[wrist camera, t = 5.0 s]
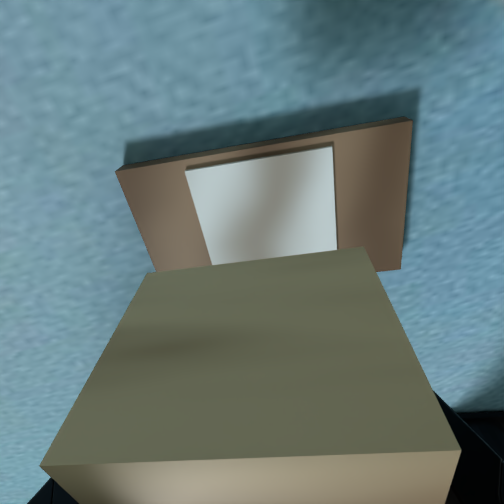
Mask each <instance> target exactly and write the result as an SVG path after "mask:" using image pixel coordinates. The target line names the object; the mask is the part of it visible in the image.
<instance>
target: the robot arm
mask: <svg viewBox="0 0 504 504" xmlns="http://www.w3.org/2000/svg"><path fill="white" fill-rule="evenodd" d="M433 392H434V391H433ZM434 394H435V396H436V398H437V400H438V402H439V404H440V407H441V409H442V411H443V413H444V415H445V417H446V419H447V421H448V423H449V425H450V427H451V429H452V432H453V434H454V436H455V438H456V440H457V442H458V444H459V446H460V448H461V453H460V457H459V460H458V463H457V466H456V469H455V473H454V476H453V479H452V482H451V485H450V489H449V492H448V495H447V498H446V501H445V504H504V412H488V413H469V414H456V413H455V412H454V411H453V410H452V409H451V408H450V407H449V406H448V405H447V404H446V403H445V402H444V401H443V400H442V399H441V398H440V397H439V396H438V395H437V394H436V393H435V392H434ZM27 504H79V503H78V502H77V501H76V500H75V499H74V498H73V497H72V496H71V495H70V494H69V493H67V492H66V491H65V490H64V489H63V488H62V487H61V486H60V485H59V484H58V483H57V482H56V481H55V480H54V479H53V478H50V479H49V480H48V481H47V482H46V483H45V485H44V486H43V487H42V488H41V489H40V490H39V491H38V492H37V493H36V494H35V496H34V497H33V498H32V499H31V500H30V501H29V502H28V503H27Z"/></svg>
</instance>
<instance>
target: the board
mask: <svg viewBox="0 0 504 504" xmlns="http://www.w3.org/2000/svg"><path fill="white" fill-rule="evenodd" d="M412 124H413V120H411V119H409V118H407V117H399V118H393V119H388V120H382V121H376V122H370V123H365V124H359V125H353V126H347V127H342V128H336V129H330V130H324V131H318V132H313V133H307V134H301V135H295V136H290V137H284V138H278V139H272V140H267V141H261V142H255V143H249V144H244V145H238V146H232V147H226V148H221V149H215V150H209V151H203V152H197V153H192V154H186V155H180V156H174V157H169V158H163V159H157V160H151V161H146V162H140V163H134V164H128V165H123V166H121V167H120V168H119V169H118V170H116V171H115V173H116V175H117V178H118V180H119V183H120V185H121V188H122V190H123V192H124V195H125V197H126V200H127V202H128V204H129V207H130V209H131V212H132V214H133V217H134V219H135V221H136V224H137V226H138V229H139V231H140V233H141V236H142V238H143V241H144V243H145V245H146V248H147V250H148V253H149V255H150V258H151V260H152V262H153V265H154V267H155V270H156V272H161V271H170V270H178V269H186V268H194V267H202V266H210V265H218V264H226V263H234V262H242V261H251V260H259V259H267V258H275V257H283V256H291V255H299V254H307V253H315V252H324V251H332V250H340V249H348V248H356V247H364V248H365V250H366V252H367V254H368V256H369V259H370V261H371V263H372V265H373V267H374V269H375V271H376V272H381V271H389V270H398V269H401V259H402V247H403V235H404V223H405V210H406V198H407V186H408V174H409V161H410V149H411V137H412Z"/></svg>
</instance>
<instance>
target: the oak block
mask: <svg viewBox="0 0 504 504" xmlns="http://www.w3.org/2000/svg"><path fill="white" fill-rule="evenodd" d="M460 453H461V448H460V446H459V444H458V442H457V440H456V438H455V436H454V434H453V432H452V429H451V427H450V425H449V423H448V421H447V419H446V417H445V415H444V413H443V411H442V409H441V407H440V404H439V402H438V400H437V398H436V396H435V394H434V392H433V390H432V388H431V386H430V384H429V382H428V379H427V377H426V375H425V373H424V371H423V369H422V367H421V365H420V363H419V361H418V359H417V357H416V354H415V352H414V350H413V348H412V346H411V344H410V342H409V340H408V338H407V336H406V334H405V331H404V329H403V327H402V325H401V323H400V321H399V319H398V317H397V315H396V313H395V311H394V309H393V306H392V304H391V302H390V300H389V298H388V296H387V294H386V292H385V290H384V288H383V286H382V284H381V281H380V279H379V277H378V275H377V273H376V271H375V269H374V267H373V265H372V263H371V261H370V259H369V256H368V254H367V252H366V250H365V248H364V247H356V248H348V249H340V250H332V251H324V252H315V253H307V254H299V255H291V256H283V257H275V258H267V259H259V260H251V261H242V262H234V263H226V264H218V265H210V266H202V267H194V268H186V269H178V270H170V271H161V272H153V273H147V274H146V276H145V278H144V280H143V282H142V283H141V285H140V287H139V289H138V290H137V292H136V294H135V296H134V298H133V299H132V301H131V303H130V305H129V307H128V308H127V310H126V312H125V314H124V315H123V317H122V319H121V321H120V323H119V324H118V326H117V328H116V330H115V332H114V333H113V335H112V337H111V339H110V341H109V342H108V344H107V346H106V348H105V349H104V351H103V353H102V355H101V357H100V358H99V360H98V362H97V364H96V366H95V367H94V369H93V371H92V373H91V374H90V376H89V378H88V380H87V382H86V383H85V385H84V387H83V389H82V391H81V392H80V394H79V396H78V398H77V399H76V401H75V403H74V405H73V407H72V408H71V410H70V412H69V414H68V416H67V417H66V419H65V421H64V423H63V424H62V426H61V428H60V430H59V432H58V433H57V435H56V437H55V439H54V441H53V442H52V444H51V446H50V448H49V450H48V451H47V453H46V455H45V457H44V458H43V460H42V462H41V464H40V467H41V468H42V469H43V470H44V471H45V472H46V473H47V474H48V475H49V476H50V477H51V478H53V479H54V480H55V481H56V482H57V483H58V484H59V485H60V486H61V487H62V488H63V489H64V490H65V491H66V492H67V493H69V494H70V495H71V496H72V497H73V498H74V499H75V500H76V501H77V502H78V503H79V504H445V501H446V498H447V495H448V492H449V489H450V485H451V482H452V479H453V476H454V473H455V469H456V466H457V463H458V460H459V457H460Z"/></svg>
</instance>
